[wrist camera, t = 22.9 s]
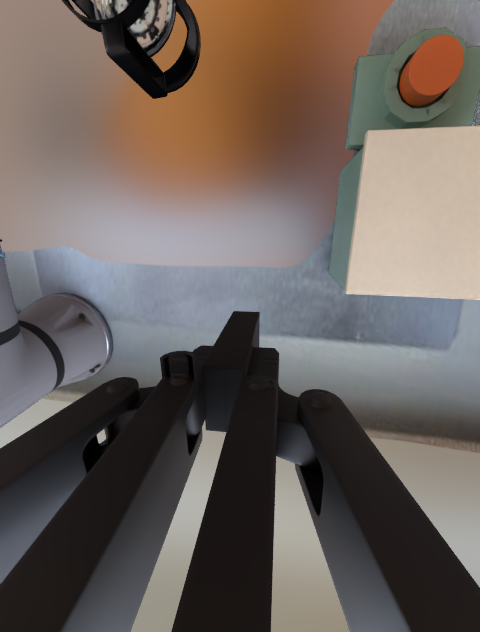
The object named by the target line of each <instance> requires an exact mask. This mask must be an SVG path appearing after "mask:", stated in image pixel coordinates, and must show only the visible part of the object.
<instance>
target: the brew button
mask: <svg viewBox="0 0 480 632" xmlns="http://www.w3.org/2000/svg"><path fill="white" fill-rule="evenodd" d="M463 62H464V52H463V48H462V45H461V44H460V42H459V41H458V40H457V39H456V38H454V37H452V36H449V35H438V36H435V37H433V38H430V39H429V40H427V41H426V42H424V43H423V44H422V45H421V46H420V47H419V48H418V50H417V51H416V52H415V54H414V55H413V56H412V58H411V59H410V60H409V62H408V63H407V65H406V66H405V68H404V69H403V72H402V74H401V77H400V82H399V88H400V93H401V96H402V98H403V99H404V100H405V101H406V102H407V103H408V104H410V105H413V106H423V105H426V104H429V103H431V102H432V101H434V100H435V99H436V98H438V97H439V96H440V95H441V94H442V93H443V92H444V91H446V90H447V89H448V88H449V87H450V86H451V85H452V84H453V83H454V82H455V81H456V79H457V78H458V76H459V74H460V72H461V69H462V66H463Z"/></svg>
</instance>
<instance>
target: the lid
mask: <svg viewBox="0 0 480 632" xmlns="http://www.w3.org/2000/svg"><path fill="white" fill-rule="evenodd" d="M345 293H346V294H362V295H385V296H407V297H430V298H453V299H475V300H480V125H479V126H456V127H434V128H411V129H389V130H368V131H367V132H366V134H365V141H364V148H363V156H362V163H361V171H360V179H359V186H358V194H357V201H356V209H355V216H354V224H353V232H352V239H351V247H350V254H349V262H348V270H347V277H346V285H345Z"/></svg>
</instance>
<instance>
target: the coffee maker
mask: <svg viewBox="0 0 480 632" xmlns="http://www.w3.org/2000/svg"><path fill="white" fill-rule="evenodd" d="M363 148H364V147H363ZM363 148H362V149H361V150H360V151H359V152H358V153H357V154H356V155H355V156H354V157H353V158H352V159H351V160H350V162H349V163H348V164H347V165H346V166H345V167H344V168H343V169H342V170H341V171H340V177H339V186H338V196H337V204H336V213H335V222H334V231H333V240H332V249H331V258H330V267H329V275H330V276H331V277H332V278H333V279H334V280H335V281H336V283H337V284H338V285H339V286H340V287H341V288H342V289H343V290H344V292H345V285H346V277H347V270H348V262H349V254H350V247H351V239H352V232H353V224H354V216H355V209H356V201H357V194H358V186H359V179H360V171H361V163H362V156H363Z"/></svg>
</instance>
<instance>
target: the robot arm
mask: <svg viewBox="0 0 480 632" xmlns="http://www.w3.org/2000/svg"><path fill="white" fill-rule="evenodd" d="M0 242H2V240H1V239H0ZM4 258H5V253H3V252H2V249H1V246H0V428H1V427H2V426H4V425H5V424H7V423H8V422H9V421H11V420H12V419H14V418H15V417H16V416H18V415H19V414H21V413H22V412H24V411H25V410H26V409H28V408H29V407H30V406H32V405H33V404H35V403H36V402H38V401H39V400H40V399H42V398H43V397H45V396H46V395H47V394H49V393H50V392H52V391H53V390H54V389H56V388H58V387H60V386H63V385H67V384H70V383H73V382H77V381H80V380H83V379H87V378H89V377H91V376H93V375H95V374H96V373H98V372H99V371H100V370H101V369H103V368H104V367H105V366H106V365H107V363H108V362H109V360H110V358H111V355H112V349H113V342H112V336H111V332H110V329H109V327H108V325H107V323H106V321H105V319H104V318H103V316H102V315H101V314H100V313H99V311H98V310H97V309H96V308H95V307H94V306H92V305H91V304H90V303H88V302H87V301H85V300H84V299H82V298H80V297H77V296H75V295H71V294H66V293H58V294H52V295H49V296H45V297H43V298H41V299H39V300H37V301H35V302H34V303H32V304H31V305H30V306H28V307H27V308H26V309H25V310H23V311H22V312H21V313H19V314H18V315H17V312H16V308H15V304H14V300H13V296H12V292H11V287H10V283H9V279H8V275H7V270H6V265H5V261H4ZM160 362H161V370H162V380H161V381H160V382H159V383H158V385H157V386H155V387H148V388H140V389H139V384H138V382H137V380H136V379H133V378H129V377H122V378H121V377H120V378H116V379H113V380H110V381H108V382H106V383H104V384H102V385H101V386H99V387H98V388H96V389H94V390H93V391H91V392H90V393H88V394H87V395H85V396H83V397H82V398H80V399H79V400H77V401H75V402H74V403H72V404H71V405H69V406H67V407H66V408H64V409H63V410H61V411H59V412H58V413H56V414H55V415H53V416H51V417H50V418H48V419H47V420H45V421H43V422H42V423H40V424H39V425H37V426H36V427H34V428H32V429H31V430H29V431H28V432H26V433H24V434H23V435H21V436H20V437H18V438H16V439H15V440H13V441H12V442H10V443H8V444H7V445H5V446H4V447H2V448H0V632H131V629H132V626H133V623H134V621H135V618H136V615H137V613H138V610H139V607H140V605H141V602H142V599H143V597H144V594H145V591H146V589H147V586H148V583H149V581H150V578H151V575H152V573H153V570H154V567H155V564H156V562H157V559H158V557H159V554H160V551H161V549H162V546H163V543H164V541H165V538H166V535H167V532H168V530H169V527H170V524H171V522H172V519H173V516H174V514H175V511H176V508H177V506H178V503H179V500H180V498H181V495H182V492H183V490H184V487H185V483H186V482H187V479H188V476H189V473H190V471H191V468H192V466H193V463H194V460H195V458H196V455H197V452H198V449H199V447H200V444H201V441H202V425H203V423H204V421H206V430H210V431H220V432H221V431H222V432H226V436H225V440H224V444H223V447H222V451H221V454H220V458H219V461H218V465H217V469H216V473H215V476H214V480H213V483H212V487H211V490H210V494H209V498H208V501H207V505H206V509H205V512H204V516H203V519H202V523H201V527H200V530H199V534H198V537H197V541H196V545H195V548H194V552H193V555H192V559H191V563H190V566H189V570H188V574H187V577H186V581H185V584H184V588H183V592H182V595H181V599H180V603H179V606H178V610H177V613H176V617H175V621H174V624H173V628H172V632H271V603H272V570H273V537H274V506H275V503H274V502H275V474H276V456H278V457H280V458H282V459H285V460H288V461H290V462H293V463H295V468H296V472H297V475H298V478H299V481H300V484H301V487H302V490H303V492H304V496H305V499H306V502H307V505H308V508H309V510H310V514H311V517H312V519H313V523H314V526H315V529H316V532H317V535H318V538H319V541H320V544H321V547H322V549H323V552H324V555H325V558H326V561H327V564H328V567H329V570H330V573H331V576H332V579H333V582H334V585H335V588H336V591H337V594H338V597H339V600H340V603H341V606H342V609H343V612H344V615H345V618H346V621H347V624H348V627H349V630H350V632H480V588H479V587H478V585H477V583H476V582H475V581H474V579H473V578H472V577H471V576H470V574H469V573H468V571H467V570H466V569H465V567H464V566H463V565H462V563H461V562H460V561H459V559H458V558H457V556H456V555H455V554H454V552H453V551H452V550H451V548H450V547H449V546H448V544H447V543H446V541H445V540H444V539H443V537H442V536H441V535H440V533H439V532H438V531H437V529H436V528H435V527H434V525H433V524H432V523H431V521H430V520H429V518H428V517H427V516H426V514H425V513H424V512H423V510H422V509H421V508H420V506H419V505H418V503H417V502H416V501H415V499H414V498H413V497H412V495H411V494H410V493H409V492H408V490H407V488H406V487H405V486H404V485H403V483H402V482H401V480H400V479H399V478H398V476H397V475H396V474H395V472H394V471H393V469H392V468H391V467H390V465H389V464H388V463H387V461H386V460H385V459H384V457H383V456H382V455H381V453H380V452H379V450H378V449H377V448H376V446H375V445H374V444H373V442H372V441H371V440H370V438H369V437H368V436H367V434H366V433H365V431H364V430H363V429H362V427H361V426H360V425H359V423H358V422H357V421H356V419H355V418H354V417H353V415H352V414H351V412H350V411H349V410H348V408H347V407H346V406H345V404H344V403H343V402H342V400H341V399H340V398H339V397H338V396H336V395H335V394H333V393H331V392H328V391H325V390H320V389H319V390H318V389H312V390H307V391H305V392H303V393H301V395H300V397H299V398H298V397H295V396H292V395H289V394H287V393H286V392H284V391H283V390H282V389H281V388H280V387H279V384H278V372H279V353H278V352H277V350H276V349H275V348H259V312H239V311H234V312H233V313H232V315H231V317H230V318H229V320H228V322H227V324H226V325H225V327H224V329H223V331H222V332H221V334H220V336H219V337H218V339H217V341H216V343H215V344H214V346H200V347H198V348H197V349H195V350H194V351H193V352H188V351H175V352H170V353H168V354H165V355H163V356H162V357H161V358H160ZM103 429H105V434H106V440H105V441H104V442H102V443H100V444H99V443H98V440H97V434H98V433H99V432H100V431H102V430H103Z"/></svg>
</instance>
